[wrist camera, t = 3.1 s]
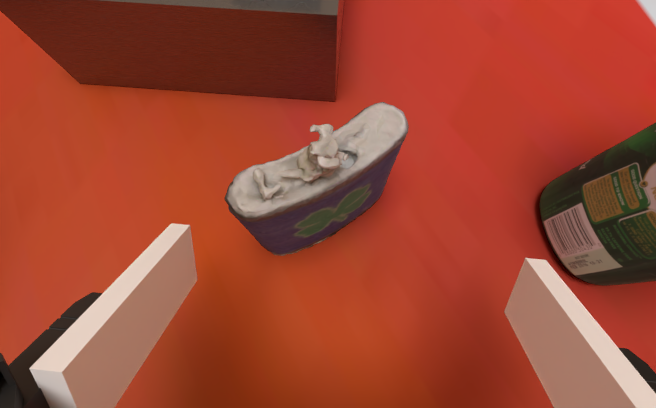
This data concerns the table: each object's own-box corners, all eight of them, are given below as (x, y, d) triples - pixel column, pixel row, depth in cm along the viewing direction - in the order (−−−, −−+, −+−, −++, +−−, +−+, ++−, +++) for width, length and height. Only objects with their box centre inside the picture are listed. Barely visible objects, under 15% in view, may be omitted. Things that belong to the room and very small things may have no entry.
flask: (370, 166, 25) (398, 65, 14) (393, 200, 24) (440, 118, 14) (255, 230, 23) (197, 169, 13) (276, 268, 23) (230, 234, 12)
